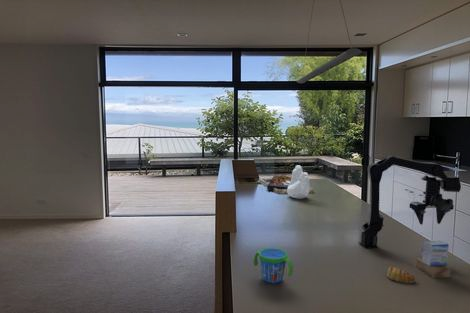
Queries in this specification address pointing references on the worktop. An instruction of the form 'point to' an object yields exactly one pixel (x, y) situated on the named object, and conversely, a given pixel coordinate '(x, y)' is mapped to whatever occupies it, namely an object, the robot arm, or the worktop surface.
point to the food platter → (279, 182)
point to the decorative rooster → (298, 183)
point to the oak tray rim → (264, 182)
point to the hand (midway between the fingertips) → (429, 224)
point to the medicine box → (435, 253)
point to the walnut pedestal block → (434, 269)
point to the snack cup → (273, 264)
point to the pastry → (400, 275)
